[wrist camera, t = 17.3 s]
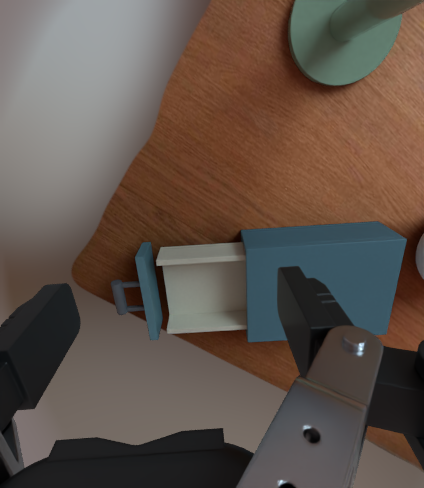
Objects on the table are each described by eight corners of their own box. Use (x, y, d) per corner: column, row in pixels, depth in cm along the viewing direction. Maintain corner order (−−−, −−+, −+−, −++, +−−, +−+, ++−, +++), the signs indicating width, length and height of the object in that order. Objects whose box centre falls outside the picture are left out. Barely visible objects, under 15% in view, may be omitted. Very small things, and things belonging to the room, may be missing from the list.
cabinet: (242, 313, 49) (247, 342, 42) (240, 229, 43) (246, 249, 37) (363, 306, 48) (386, 334, 42) (378, 221, 42) (407, 239, 36)
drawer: (128, 321, 48) (120, 342, 43) (112, 244, 42) (100, 259, 38) (270, 312, 47) (277, 333, 43) (272, 234, 42) (280, 248, 38)
